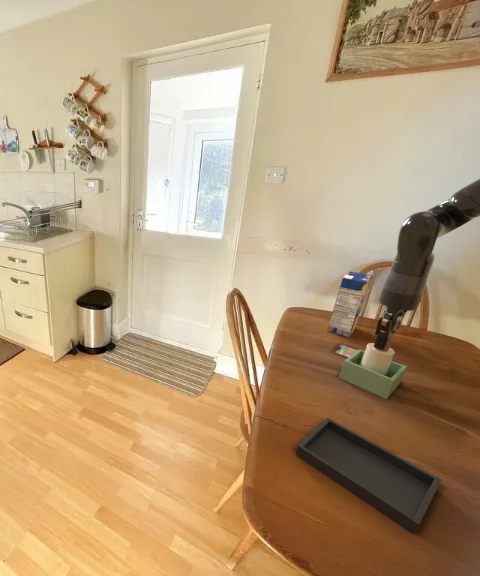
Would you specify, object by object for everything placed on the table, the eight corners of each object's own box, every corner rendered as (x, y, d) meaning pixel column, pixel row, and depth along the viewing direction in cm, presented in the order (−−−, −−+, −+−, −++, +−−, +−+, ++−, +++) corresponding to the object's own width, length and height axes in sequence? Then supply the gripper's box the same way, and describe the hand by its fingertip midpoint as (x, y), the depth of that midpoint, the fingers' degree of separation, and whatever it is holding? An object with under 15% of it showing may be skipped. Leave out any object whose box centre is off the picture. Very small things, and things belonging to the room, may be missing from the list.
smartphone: (392, 376, 95) (393, 372, 94) (333, 355, 105) (334, 352, 105) (396, 365, 100) (397, 362, 99) (340, 347, 110) (341, 344, 110)
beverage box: (326, 331, 121) (342, 277, 113) (334, 322, 128) (349, 271, 120) (348, 337, 116) (366, 282, 108) (355, 328, 123) (372, 275, 115)
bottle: (385, 382, 91) (404, 334, 85) (377, 390, 88) (397, 340, 82) (360, 372, 95) (376, 325, 90) (352, 379, 92) (368, 331, 87)
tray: (436, 488, 62) (441, 479, 61) (414, 534, 54) (419, 524, 53) (324, 425, 77) (327, 417, 76) (295, 454, 69) (297, 445, 68)
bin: (398, 386, 90) (407, 366, 88) (385, 401, 85) (393, 380, 82) (353, 367, 99) (359, 348, 97) (338, 379, 93) (344, 360, 91)
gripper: (414, 299, 74) (390, 360, 81) (430, 287, 82) (407, 344, 88) (374, 290, 80) (355, 347, 87) (393, 279, 88) (374, 333, 94)
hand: (381, 345), depth 87 cm, fingers open, 4 cm apart
